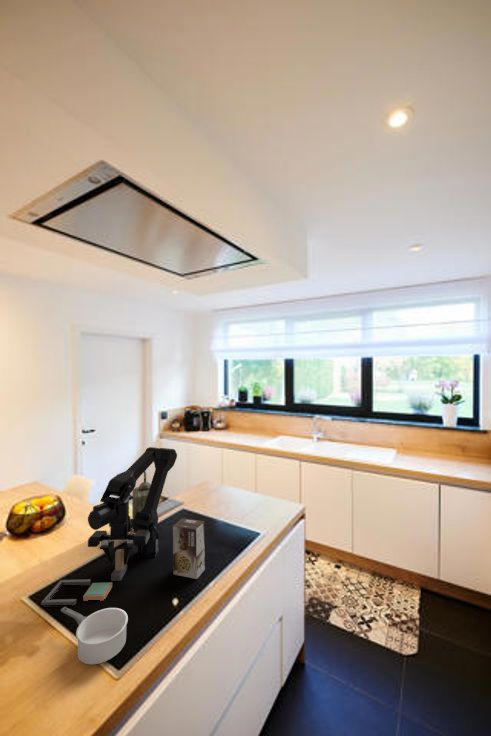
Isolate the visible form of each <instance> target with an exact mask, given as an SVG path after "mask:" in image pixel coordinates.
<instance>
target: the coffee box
mask: <svg viewBox="0 0 491 736" xmlns="http://www.w3.org/2000/svg"><path fill="white" fill-rule="evenodd" d="M205 537H206V535H205V520H199V519H198V520H197V519H191V518H183V517H182V518H180V520H178V521H177V522H176V523H175V524H173V526H172V555H173V556H172V559H173V560H172V565H173V566H172V569H173V570H172V572H173V573H172V574H173V575H175V576H180V577H184V578H185V577H186V578H190V579H195V580H198V579H199V578H200V577H201V575H202V573H203V572H204V571H205V570H206V563H205V562H206V559H205V558H206V554H205V553H206V552H205V549H206V548H205V541H206V539H205Z"/></svg>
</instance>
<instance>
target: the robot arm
mask: <svg viewBox="0 0 491 736" xmlns="http://www.w3.org/2000/svg"><path fill="white" fill-rule="evenodd" d="M177 457H178V453H177V451H176V450H175V449H174V448H166V447H152V446H150V447H146V449H145V451H144V452H143V454H141V455H140V457H138V458H137V460H135V461H134V462H133V463H132V464H131V466H129V467H128V469H126V470H125V471H122V472H121V473H120V472H119V473H117V474H116V475H115V476H113V477H112V478H111V479H110V480H109V481H108V483H107V486H106V488H105V490H104V492H103V494H102V496H101V499H100V502H101V503H99V504H97V505H94V506H93V507H92V510H91V511H90V512H89V514H88V517H87V523H88V526H89V527H90V528H91V529H92V530H94V532H93V533H92V534H91V535H90V536H89V537H88V539H87V547H88V548H97V547H99V550H102V551H103V553H105V555H106V557H107V559H108V561H109V563H110V564H111V566H114V565H115V542H126V544H125V546H124V548H123V549H124V563H123V564H125V565H126V564H127V563H128V560H129V557H130V554H131V551H132V549H134V548H135V547H137V552H136V553H137V558H155V557H156V556H157V553H158V552H159V549H160V546H159V539H160V537H161V536H162V533H163V528H162V527H161V526H159V525H158V523H159V515H158V508H159V507H158V506H159V504H160V500H161V497H162V493H163V491H164V487H165V484H166V479H167V476H168V473H169V471H170V470H171V469H172V468H173V467H174V466H175V463H176V461H177ZM152 464H154V468H155V469H154V473H153V476H152V479H151V483H150V484H151V486H150V489H149V492H148V495H147V499H146V502H145V505H144V508H143V509H142V510H141V511H140V512H137V513H136V515H135V519H133V518H131V516H130V501H131V500H132V499H133V498H134V497H133V496H132V494H131V493H133V489H135V488H136V487H137V486H136V484H137V481H138V480H139V478H140V477H141V476H142V475H144V472H145V471H147V469H148V468H150V466H151V465H152ZM107 525H108V527H109V529H110V530H109V531H110V533H109V534H108V532H107V530H99V529H102V528H103V527H105V526H107ZM132 531H133V533H131V532H132ZM99 545H100V546H99ZM127 565H128V564H127Z"/></svg>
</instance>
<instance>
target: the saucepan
mask: <svg viewBox="0 0 491 736" xmlns="http://www.w3.org/2000/svg"><path fill="white" fill-rule="evenodd" d="M60 612H61V613H63V614H65V615H67V616H68V617H71V618H73V619H74V620H75V621H76V623H77V624H78V627H77V628H76V631H75V637H76V639H77V658H78V659H79V661H80V662H82V663H83V664H85V665H98V664H103V663H105V662H108V661H110V660H111V659H112V658H114V657H115V656H117V655H118V654H119V653H120V652H121V651H122V649H123V648H124V646H125V644H126V641H127V624H128V621H129V617H128V614H127V612H126V611H125V610H124V609H122V608H118V607H107V608H102V609H100V610H96V611H94V612H93V613H91V614H89V615H87V616H84V615H83V614H81V613H79V612H77V611H75V610H73V609H70V608H68V607H67V606H63V607H62V608H61V609H60Z"/></svg>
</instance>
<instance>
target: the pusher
mask: <svg viewBox="0 0 491 736" xmlns="http://www.w3.org/2000/svg"><path fill="white" fill-rule="evenodd" d="M114 556H115V560H114V565H115V566H114V568H115V569H114V570H113V571H112V573H111V574H110V581H111V582H115V581H116V582H117V581H118V582H120V581H121V582H122V579H123V577H124V576H125V574H126V572H127V570H128V564H126V565H125V564H124V548H118V549H116V551H114Z"/></svg>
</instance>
